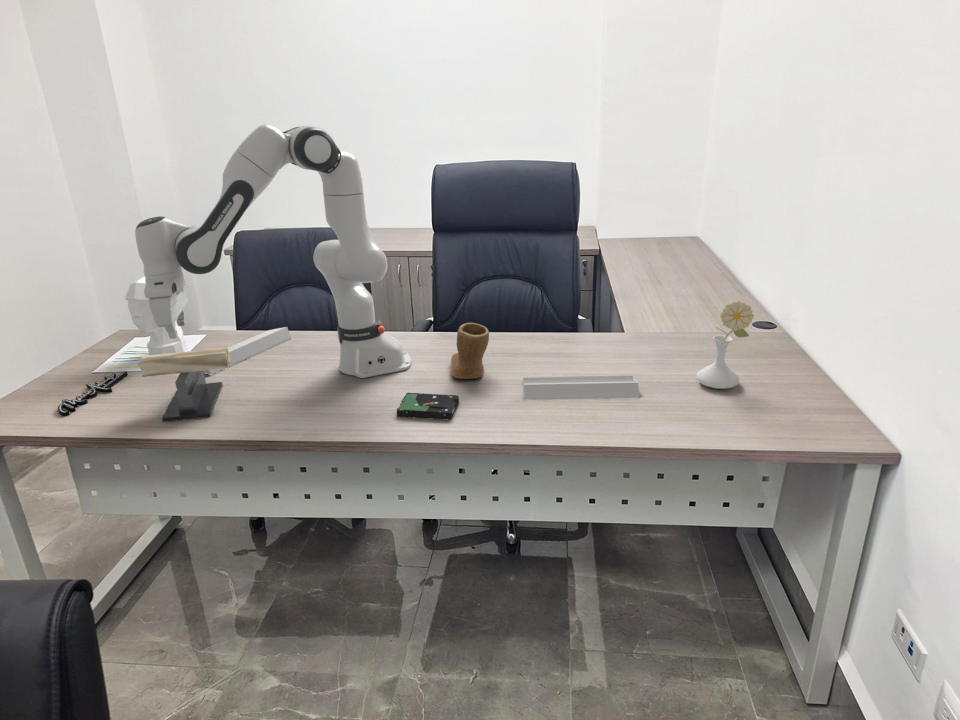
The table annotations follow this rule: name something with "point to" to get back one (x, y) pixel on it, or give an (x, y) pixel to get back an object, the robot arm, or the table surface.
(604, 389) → the crown molding
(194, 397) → the dark gray stand
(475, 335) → the brown boot
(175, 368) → the beech rod
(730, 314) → the flower in vase
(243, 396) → the table surface
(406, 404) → the disk drive
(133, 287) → the head bust
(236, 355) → the decorative molding
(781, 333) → the table surface
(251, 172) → the robot arm
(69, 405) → the nameplate
